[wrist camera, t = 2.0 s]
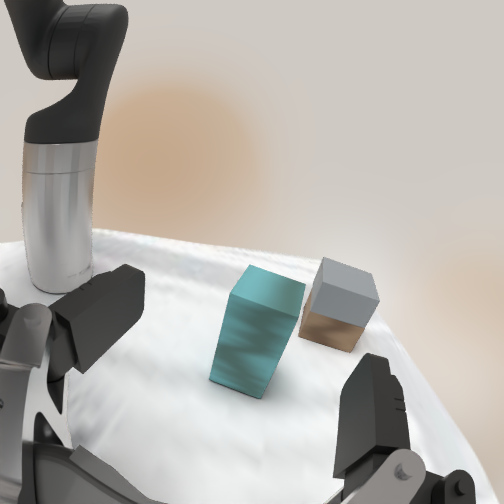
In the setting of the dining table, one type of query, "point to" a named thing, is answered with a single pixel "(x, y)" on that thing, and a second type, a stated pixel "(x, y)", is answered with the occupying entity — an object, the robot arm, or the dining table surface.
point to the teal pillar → (256, 330)
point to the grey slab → (344, 293)
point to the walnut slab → (328, 330)
